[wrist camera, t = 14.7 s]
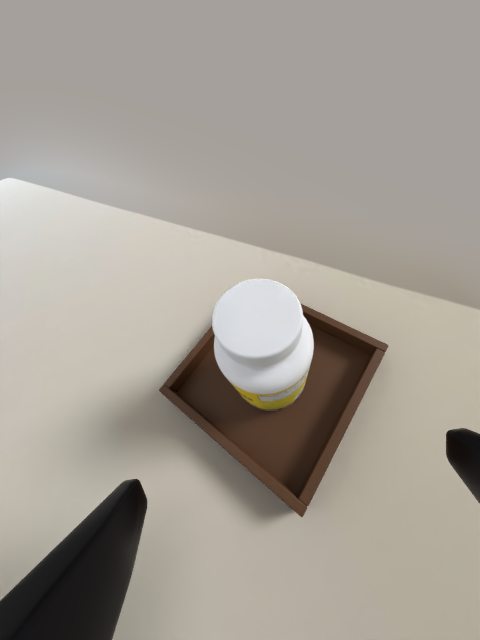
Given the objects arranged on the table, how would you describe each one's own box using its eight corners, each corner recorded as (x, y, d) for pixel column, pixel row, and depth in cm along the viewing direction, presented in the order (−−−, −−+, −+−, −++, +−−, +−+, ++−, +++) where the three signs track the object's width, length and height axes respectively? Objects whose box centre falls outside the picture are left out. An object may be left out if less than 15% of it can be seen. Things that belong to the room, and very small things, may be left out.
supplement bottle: (227, 357, 20) (185, 288, 11) (288, 335, 20) (289, 250, 12) (248, 423, 17) (212, 395, 9) (317, 397, 17) (349, 344, 9)
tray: (300, 510, 15) (302, 517, 13) (169, 395, 20) (158, 390, 18) (379, 355, 18) (388, 345, 17) (252, 292, 23) (250, 279, 22)
